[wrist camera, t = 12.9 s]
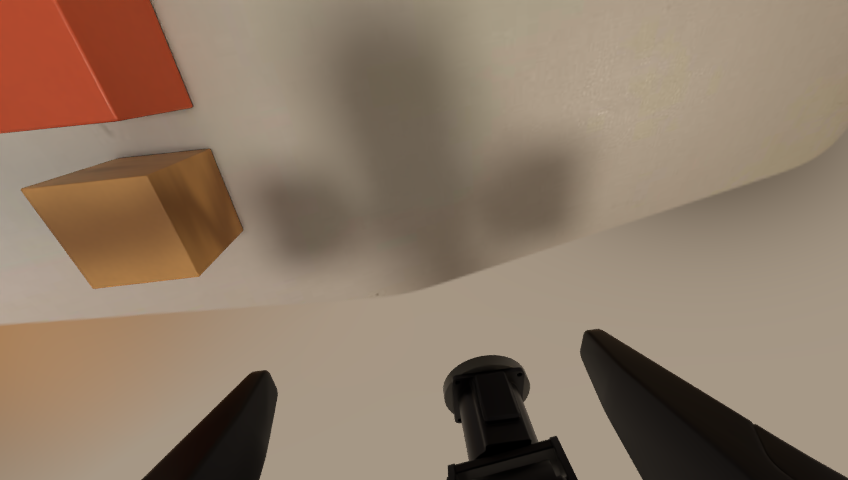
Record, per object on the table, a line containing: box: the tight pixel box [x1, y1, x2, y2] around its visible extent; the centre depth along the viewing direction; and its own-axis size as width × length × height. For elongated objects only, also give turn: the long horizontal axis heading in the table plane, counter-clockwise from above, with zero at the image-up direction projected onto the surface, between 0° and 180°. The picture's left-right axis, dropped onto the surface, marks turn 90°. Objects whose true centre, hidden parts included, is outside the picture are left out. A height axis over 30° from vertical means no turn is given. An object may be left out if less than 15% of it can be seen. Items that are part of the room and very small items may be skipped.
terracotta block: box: [0, 0, 193, 133], centre depth 13 cm, size 5×5×5 cm
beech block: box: [21, 149, 243, 289], centre depth 16 cm, size 5×5×5 cm
